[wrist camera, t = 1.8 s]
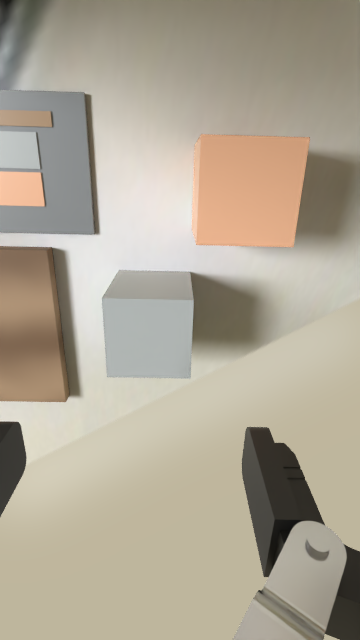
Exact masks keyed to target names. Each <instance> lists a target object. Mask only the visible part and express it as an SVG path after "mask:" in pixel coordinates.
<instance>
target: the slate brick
mask: <svg viewBox="0 0 360 640" xmlns="http://www.w3.org/2000/svg"><path fill="white" fill-rule="evenodd" d="M102 307H103V322H104V337H105V352H106V367H107V377H136V378H190V376H191V354H192V331H193V308H194V297H193V290H192V283H191V275H190V272H174V271H130V270H119V271H118V273H117V274H116V276H115V278H114V279H113V281H112V283H111V284H110V286H109V287H108V289H107V291H106V292H105V294H104V296H103V297H102Z"/></svg>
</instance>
